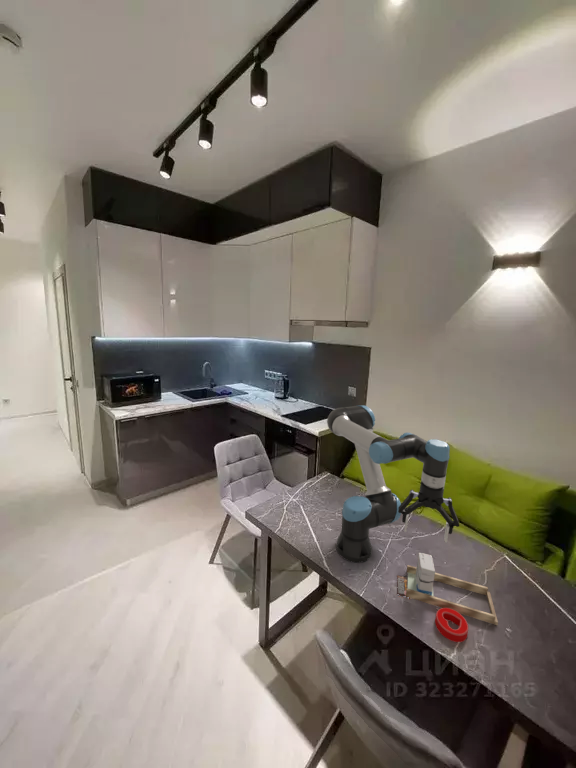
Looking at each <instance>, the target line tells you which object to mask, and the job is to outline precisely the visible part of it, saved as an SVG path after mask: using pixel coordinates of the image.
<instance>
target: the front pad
mask: <svg viewBox="0 0 576 768" xmlns="http://www.w3.org/2000/svg"><path fill="white" fill-rule="evenodd" d="M415 576H416V574H412V573H409V572H408V573H407V578H408V589H411V590H414V591H417V586H416V579H415ZM432 596H434V597H435V595H434V589H433V590H432Z"/></svg>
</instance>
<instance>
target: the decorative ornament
mask: <svg viewBox="0 0 576 768" xmlns="http://www.w3.org/2000/svg"><path fill="white" fill-rule="evenodd" d="M434 620H435V621H434V624H435V627H436V629H437V631H438V632H439V634H441V635H442V636H443V637H444V638H445V639H448V640H449V641H451V642H454V643H462V642H464V641H466V640H467V638H468V635H469V625H468V624H469V623H468V621H467V620H466V618H465V617H464V615H463V614H460V613H458V612H457V611H455V610H453V609H450V608H441V607H440V608H439V609H437V611H436V612H435V619H434ZM449 622H451V623H453V624H455V625H456V626H458V628H457V629H453V628H452V627H450V625H449Z"/></svg>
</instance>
